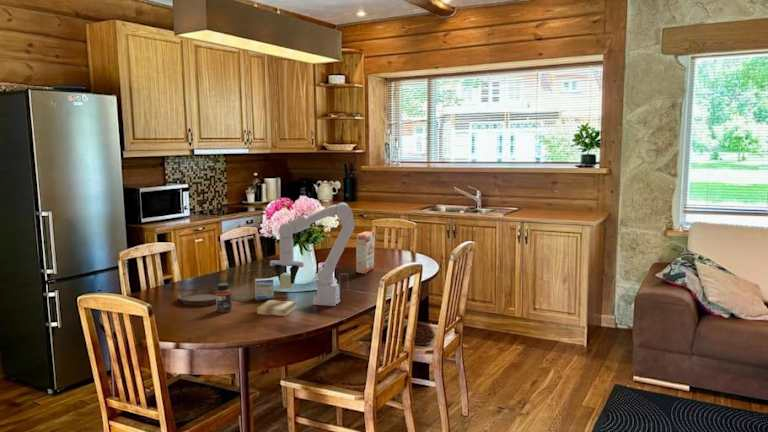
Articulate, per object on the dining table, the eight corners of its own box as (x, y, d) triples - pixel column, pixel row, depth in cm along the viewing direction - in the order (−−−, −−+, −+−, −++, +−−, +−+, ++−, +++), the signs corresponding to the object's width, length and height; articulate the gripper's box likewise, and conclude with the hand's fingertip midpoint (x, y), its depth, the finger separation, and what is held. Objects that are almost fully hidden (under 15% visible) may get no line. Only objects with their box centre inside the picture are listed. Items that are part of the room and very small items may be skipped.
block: (294, 286, 249) (293, 273, 248) (290, 288, 245) (289, 275, 244) (284, 285, 250) (284, 272, 249) (280, 287, 246) (279, 275, 245)
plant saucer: (237, 298, 258) (236, 291, 258) (200, 310, 241) (200, 302, 240) (204, 292, 269) (204, 285, 268) (167, 303, 251) (167, 295, 251)
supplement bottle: (225, 308, 243) (225, 281, 241) (234, 310, 239) (233, 283, 238) (213, 311, 238) (212, 284, 237) (222, 314, 234) (221, 286, 233)
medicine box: (255, 300, 255) (255, 280, 254) (255, 297, 259) (254, 278, 258) (273, 298, 257) (273, 279, 256) (273, 296, 261) (272, 277, 260)
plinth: (296, 307, 244) (295, 301, 243) (285, 315, 232) (285, 309, 232) (269, 305, 246) (269, 299, 246) (257, 313, 235) (257, 307, 234)
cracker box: (366, 274, 303) (366, 235, 301) (355, 274, 305) (355, 234, 302) (374, 269, 317) (374, 231, 314) (364, 268, 318) (364, 230, 316)
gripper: (306, 250, 248) (306, 281, 249) (274, 248, 251) (275, 279, 253) (300, 253, 241) (300, 285, 242) (267, 251, 244) (268, 283, 246)
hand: (287, 282), depth 247 cm, fingers closed on block, 4 cm apart
